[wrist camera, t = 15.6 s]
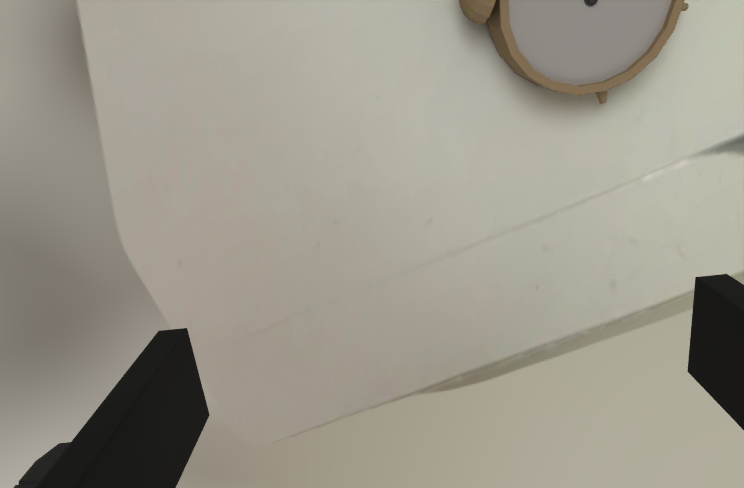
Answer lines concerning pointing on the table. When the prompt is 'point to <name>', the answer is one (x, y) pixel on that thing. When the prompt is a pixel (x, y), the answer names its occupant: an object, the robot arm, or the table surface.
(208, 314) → the table surface
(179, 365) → the robot arm
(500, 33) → the alarm clock
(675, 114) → the table surface
